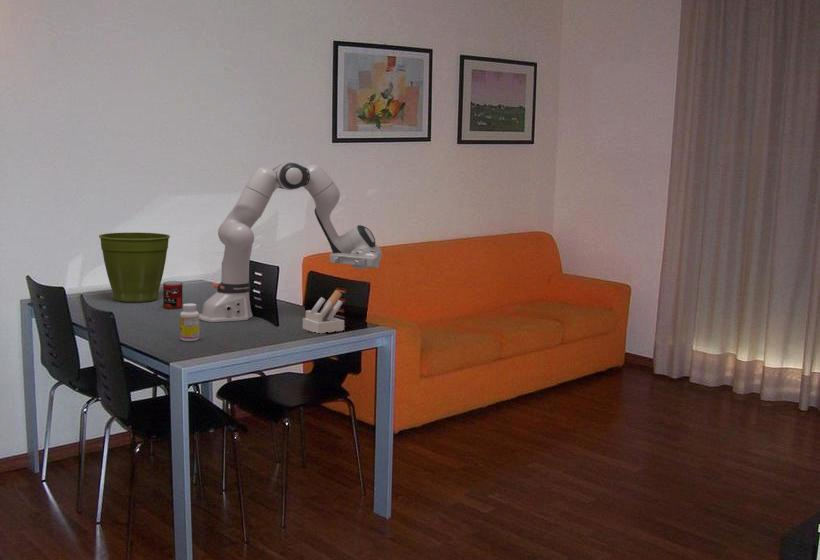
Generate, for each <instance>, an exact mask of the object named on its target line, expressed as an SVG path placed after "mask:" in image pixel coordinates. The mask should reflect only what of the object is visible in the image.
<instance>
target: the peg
mask: <svg viewBox="0 0 820 560" xmlns="http://www.w3.org/2000/svg"><path fill="white" fill-rule="evenodd" d="M342 296H343V294H342V293H341V292H340V291H339V290H334V291H333V293H332V294H331V296H330V297H329V298H328V299H329V300H328V299H327V300H326V302H327V303H328V301H330V302H331V303H333V305H332V306H331V307H330V309H329V310H328V312H327V313H326V315H325V316H324V318H326V317H327V316H328V314H329V313H330V311H331V310H332V308H333V307H334V306H335V304H336V303H337V302H338V300H340V298H341V297H342ZM326 302H325V303H324V305H325V306H326V304H327V303H326ZM324 305H323V306H324ZM325 306H324V307H325ZM324 307H321V309H322V310H323V308H324ZM322 310H319V312H320V313H321V311H322Z"/></svg>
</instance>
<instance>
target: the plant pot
mask: <svg viewBox="0 0 820 560" xmlns="http://www.w3.org/2000/svg"><path fill="white" fill-rule="evenodd" d="M98 238H100V247H101V251H102V257H103V262H104V265H105V269H106V270H105V271H106V274H107V278H108V281H109V285H110V287H111V292H112V299H113V300H114V301H117V302H125V303H143V302H144V303H145V302H151V301H155V300H157V299H158V298H159V289H160V287H161V283H162V279H163V275H164V271H165V266H166V261H167V254H168V253H167V252H168V249H169V240H170V238H171V235H169V234H165V233H156V232H135V231H134V232H109V233H102V234H99V235H98Z"/></svg>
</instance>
